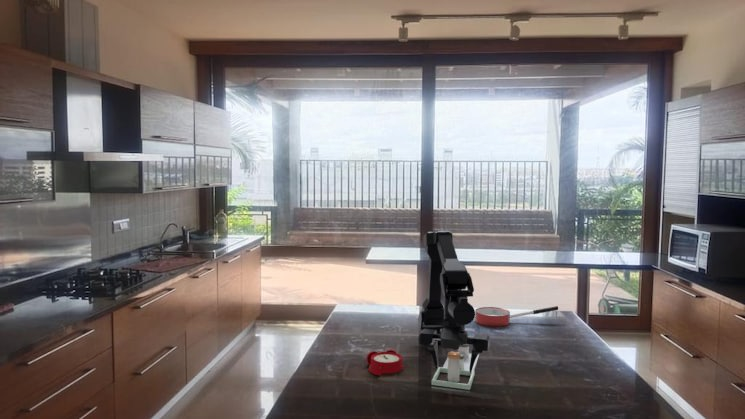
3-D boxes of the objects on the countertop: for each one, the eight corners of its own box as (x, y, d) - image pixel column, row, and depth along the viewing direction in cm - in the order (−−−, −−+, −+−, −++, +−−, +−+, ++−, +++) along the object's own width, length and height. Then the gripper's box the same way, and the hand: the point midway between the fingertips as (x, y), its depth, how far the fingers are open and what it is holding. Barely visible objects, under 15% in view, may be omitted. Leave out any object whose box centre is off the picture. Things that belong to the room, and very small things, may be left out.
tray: (431, 388, 139) (431, 380, 139) (438, 374, 149) (438, 366, 149) (469, 393, 136) (469, 385, 136) (474, 378, 146) (474, 371, 146)
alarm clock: (374, 368, 144) (363, 339, 158) (373, 387, 146) (361, 357, 160) (410, 364, 147) (395, 337, 161) (408, 383, 149) (394, 355, 163)
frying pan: (546, 315, 211) (547, 300, 210) (562, 325, 198) (562, 308, 197) (470, 318, 207) (471, 302, 206) (481, 328, 194) (482, 311, 193)
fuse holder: (440, 374, 149) (441, 357, 149) (450, 354, 165) (450, 339, 165) (472, 377, 146) (472, 360, 146) (479, 357, 162) (479, 342, 162)
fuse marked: (446, 383, 141) (446, 355, 141) (448, 378, 145) (448, 351, 144) (458, 384, 140) (459, 356, 140) (460, 380, 143) (461, 352, 143)
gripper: (414, 319, 136) (413, 376, 137) (486, 325, 131) (485, 385, 132) (423, 308, 147) (422, 362, 148) (490, 314, 141) (489, 369, 142)
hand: (453, 369), depth 142 cm, fingers open, 9 cm apart
